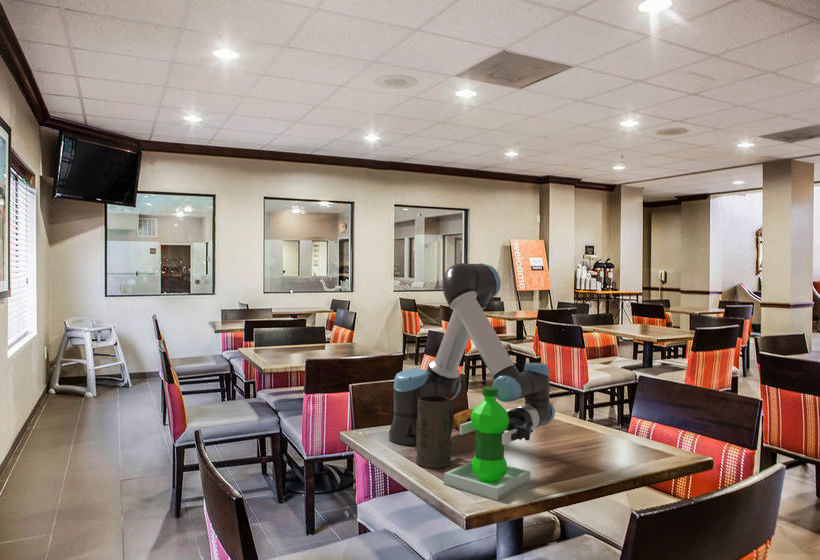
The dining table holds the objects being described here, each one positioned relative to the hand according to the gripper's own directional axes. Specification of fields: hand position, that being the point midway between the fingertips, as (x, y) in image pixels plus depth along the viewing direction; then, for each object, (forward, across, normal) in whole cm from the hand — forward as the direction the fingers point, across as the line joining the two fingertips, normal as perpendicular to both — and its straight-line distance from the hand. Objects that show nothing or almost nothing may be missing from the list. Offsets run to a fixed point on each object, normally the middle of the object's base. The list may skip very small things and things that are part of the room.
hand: (481, 434), depth 155 cm
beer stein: (-9, +22, -14) cm, 28 cm away
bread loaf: (-48, +36, -14) cm, 61 cm away
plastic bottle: (-4, 0, -13) cm, 14 cm away
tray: (-3, 0, -14) cm, 14 cm away
